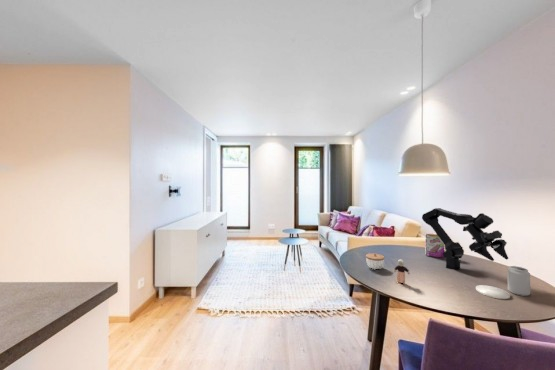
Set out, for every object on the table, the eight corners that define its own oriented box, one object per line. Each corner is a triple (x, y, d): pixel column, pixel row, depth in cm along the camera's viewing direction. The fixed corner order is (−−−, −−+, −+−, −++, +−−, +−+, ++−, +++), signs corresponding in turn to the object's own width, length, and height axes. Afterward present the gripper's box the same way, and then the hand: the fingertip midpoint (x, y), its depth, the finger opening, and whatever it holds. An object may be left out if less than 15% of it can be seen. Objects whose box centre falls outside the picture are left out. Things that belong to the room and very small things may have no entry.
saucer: (477, 294, 108) (477, 292, 108) (474, 285, 118) (474, 283, 118) (512, 301, 101) (512, 299, 101) (507, 291, 110) (507, 289, 110)
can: (535, 297, 104) (535, 271, 104) (515, 296, 106) (515, 270, 106) (521, 289, 112) (521, 265, 112) (503, 288, 113) (503, 264, 113)
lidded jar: (365, 270, 140) (365, 255, 140) (366, 264, 150) (365, 250, 150) (385, 272, 136) (384, 257, 136) (383, 266, 146) (383, 251, 146)
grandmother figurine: (393, 283, 122) (393, 259, 121) (393, 280, 125) (393, 257, 125) (410, 285, 118) (410, 261, 118) (409, 282, 122) (409, 259, 122)
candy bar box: (426, 256, 164) (425, 233, 164) (425, 254, 168) (424, 232, 168) (445, 258, 159) (444, 234, 159) (443, 256, 164) (442, 233, 164)
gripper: (474, 226, 119) (498, 253, 109) (502, 224, 123) (528, 250, 112) (459, 237, 127) (481, 264, 116) (486, 235, 131) (509, 261, 120)
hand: (500, 259), depth 116 cm, fingers open, 9 cm apart
